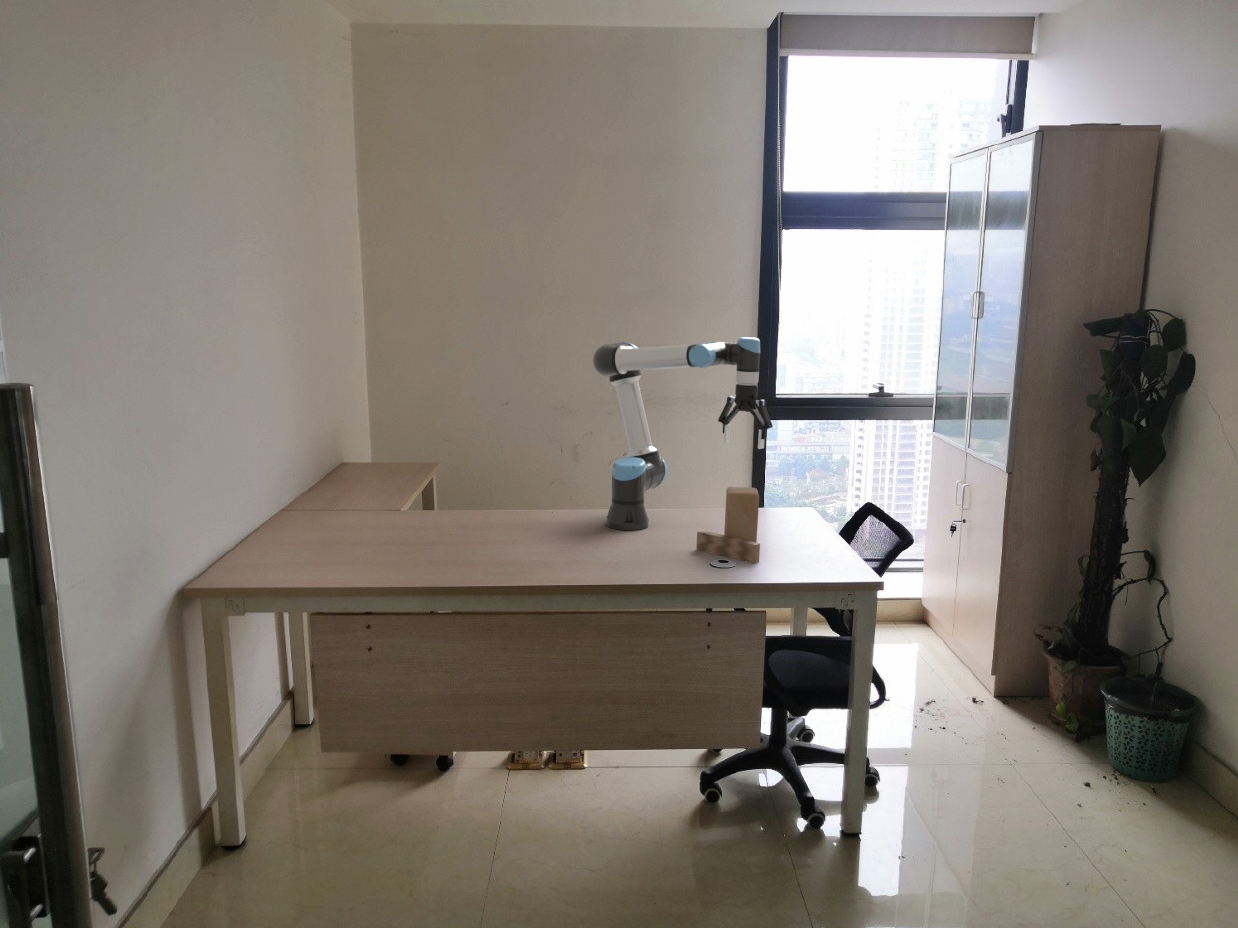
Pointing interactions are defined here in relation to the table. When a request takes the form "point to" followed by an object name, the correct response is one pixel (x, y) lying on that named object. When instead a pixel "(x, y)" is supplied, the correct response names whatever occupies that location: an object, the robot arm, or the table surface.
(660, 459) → the robot arm
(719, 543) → the board
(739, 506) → the block
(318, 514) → the table surface
